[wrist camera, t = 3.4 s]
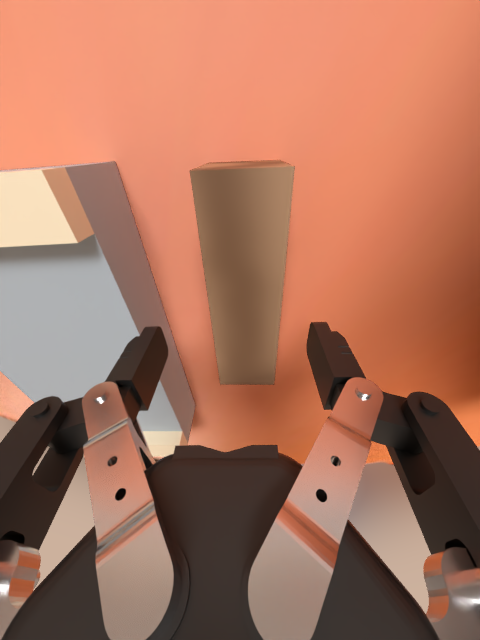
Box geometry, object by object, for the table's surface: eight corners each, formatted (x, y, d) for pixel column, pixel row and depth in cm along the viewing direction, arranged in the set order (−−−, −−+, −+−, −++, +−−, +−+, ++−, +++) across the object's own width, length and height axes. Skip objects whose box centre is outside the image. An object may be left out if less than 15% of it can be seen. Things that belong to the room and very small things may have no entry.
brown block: (279, 159, 14) (294, 166, 10) (268, 336, 23) (274, 384, 19) (209, 162, 14) (189, 170, 10) (225, 336, 24) (220, 384, 19)
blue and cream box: (115, 161, 14) (41, 170, 9) (195, 405, 31) (185, 456, 26) (-84, 177, 15) (-254, 192, 10) (99, 406, 32) (71, 455, 27)
